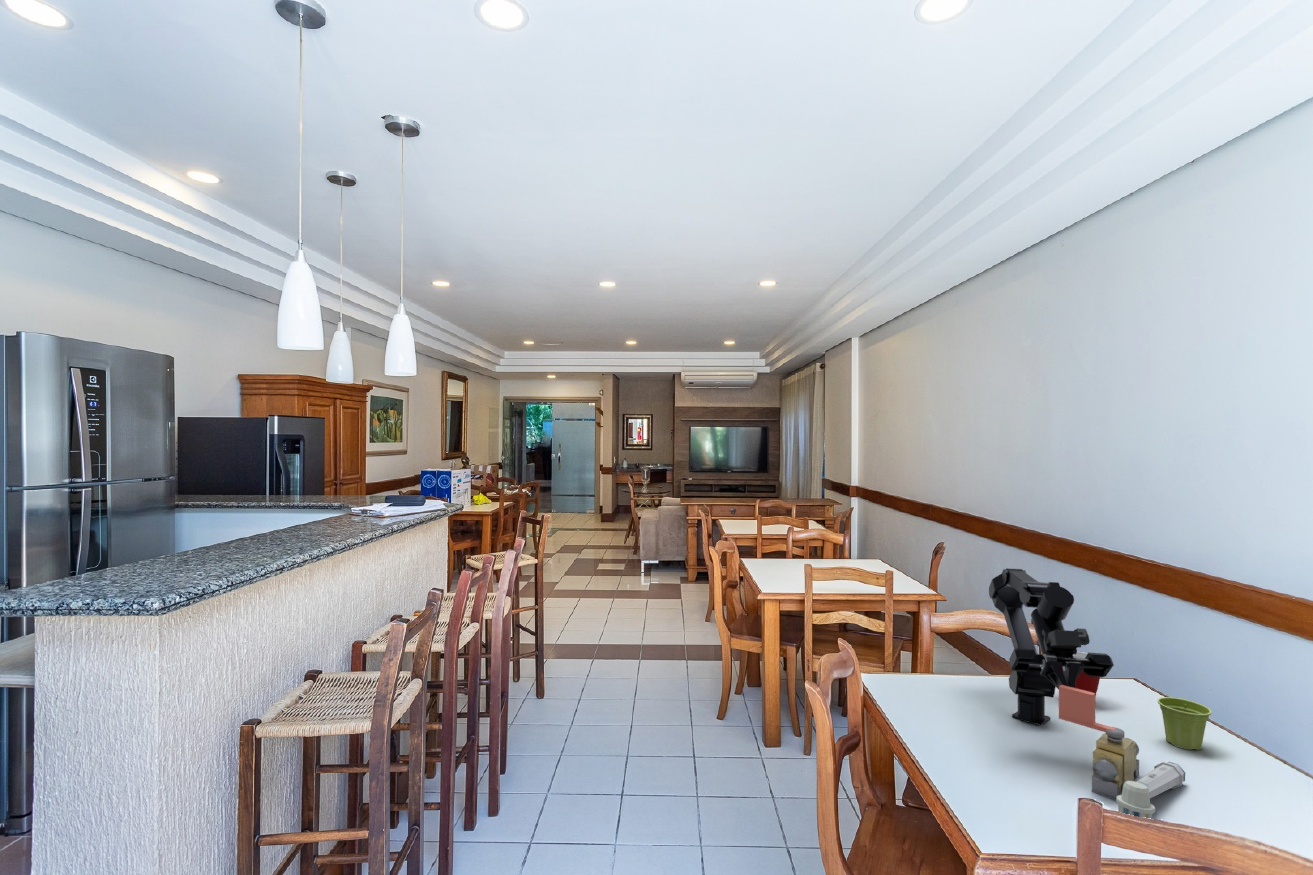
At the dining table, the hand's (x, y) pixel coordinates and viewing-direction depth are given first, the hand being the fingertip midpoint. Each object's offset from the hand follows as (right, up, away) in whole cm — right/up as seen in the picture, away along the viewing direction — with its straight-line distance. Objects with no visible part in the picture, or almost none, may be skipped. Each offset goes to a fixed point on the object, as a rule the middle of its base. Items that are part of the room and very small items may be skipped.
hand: (1071, 700), depth 133 cm
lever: (+1, -4, -5) cm, 6 cm away
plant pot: (+31, -14, +10) cm, 36 cm away
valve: (+3, -13, -8) cm, 16 cm away
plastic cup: (+25, -14, +35) cm, 45 cm away
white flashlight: (+6, -14, -14) cm, 20 cm away
